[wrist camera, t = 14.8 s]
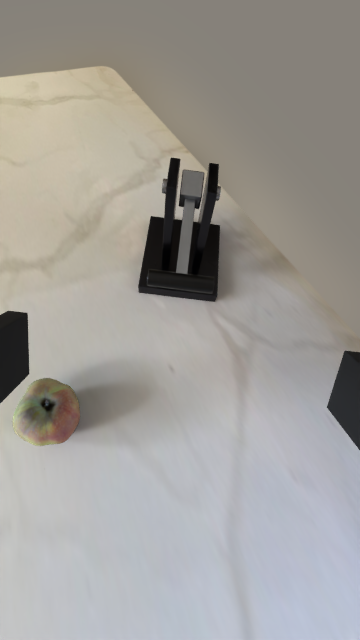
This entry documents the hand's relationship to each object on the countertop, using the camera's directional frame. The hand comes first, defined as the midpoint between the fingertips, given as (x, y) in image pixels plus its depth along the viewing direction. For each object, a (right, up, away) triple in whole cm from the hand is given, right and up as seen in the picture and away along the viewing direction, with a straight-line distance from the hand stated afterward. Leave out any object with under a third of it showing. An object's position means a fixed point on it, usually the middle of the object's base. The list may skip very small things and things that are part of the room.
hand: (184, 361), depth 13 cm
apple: (-13, -9, +20) cm, 25 cm away
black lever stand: (0, +10, +30) cm, 32 cm away
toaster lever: (0, +11, +20) cm, 23 cm away
